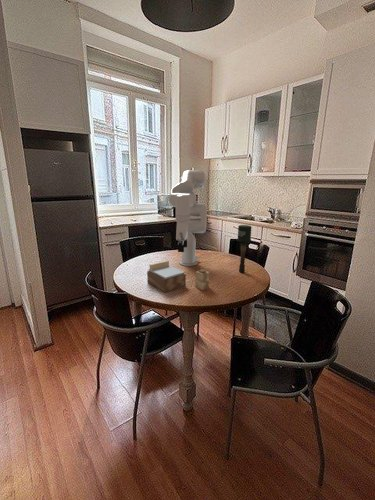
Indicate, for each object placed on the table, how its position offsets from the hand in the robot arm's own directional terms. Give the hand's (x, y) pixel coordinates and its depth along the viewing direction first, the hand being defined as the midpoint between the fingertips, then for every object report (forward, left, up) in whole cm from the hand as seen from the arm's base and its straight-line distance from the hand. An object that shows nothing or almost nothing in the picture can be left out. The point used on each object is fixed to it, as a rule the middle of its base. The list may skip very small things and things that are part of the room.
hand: (182, 249), depth 138 cm
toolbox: (+8, -4, -20) cm, 22 cm away
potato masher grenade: (-41, +10, -20) cm, 47 cm away
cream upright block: (-5, +11, -20) cm, 23 cm away
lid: (+8, -4, -13) cm, 16 cm away
